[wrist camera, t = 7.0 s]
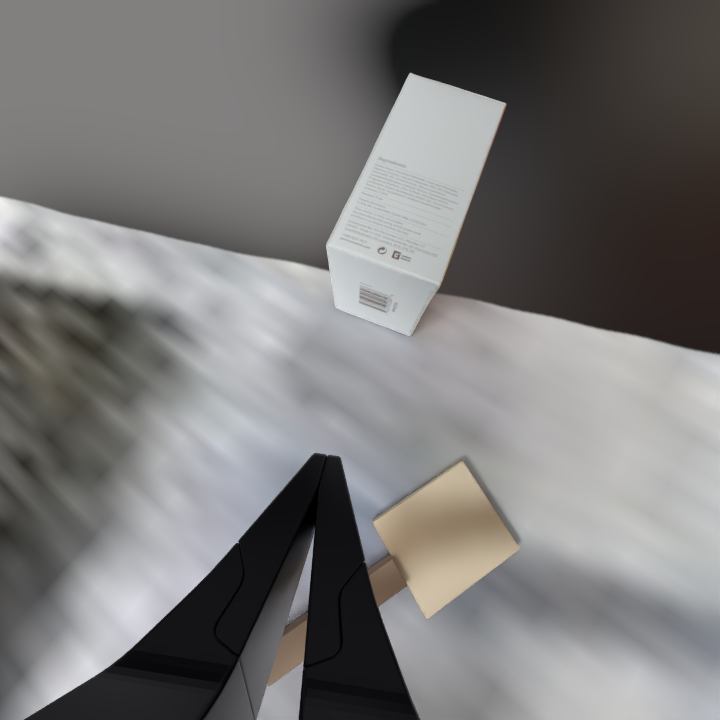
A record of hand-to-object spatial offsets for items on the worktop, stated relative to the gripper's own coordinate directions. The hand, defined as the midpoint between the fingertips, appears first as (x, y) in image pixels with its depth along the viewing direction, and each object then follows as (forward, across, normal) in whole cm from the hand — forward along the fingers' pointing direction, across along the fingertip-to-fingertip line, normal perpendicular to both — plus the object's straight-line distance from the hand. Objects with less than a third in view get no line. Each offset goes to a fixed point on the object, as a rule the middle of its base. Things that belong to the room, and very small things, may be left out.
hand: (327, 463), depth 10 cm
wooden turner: (+4, -4, +12) cm, 14 cm away
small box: (+12, -1, -1) cm, 12 cm away
